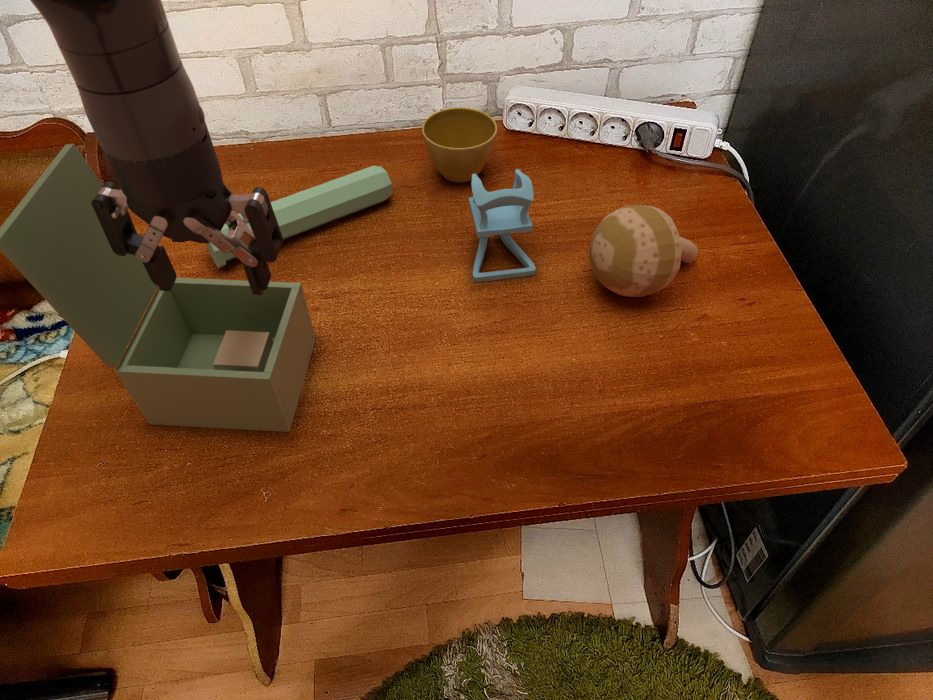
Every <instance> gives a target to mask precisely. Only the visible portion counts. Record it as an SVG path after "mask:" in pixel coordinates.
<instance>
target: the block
mask: <svg viewBox="0 0 933 700" xmlns="http://www.w3.org/2000/svg"><path fill="white" fill-rule="evenodd" d="M272 345H273V341H272V338H271V335H270V333H269V332H252V331H229V330H226V332H225V335H224V337H223V340H222V342H221V345H220V347H219V350H218V352H217V355H216V357H215V360H214V362H213V366H214V368H215V370H229V371H249V372H264V369H265V366H266V363H267V360H268V357H269V354H270V351H271V348H272Z"/></svg>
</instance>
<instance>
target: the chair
mask: <svg viewBox="0 0 933 700" xmlns="http://www.w3.org/2000/svg"><path fill="white" fill-rule="evenodd" d="M514 177H515V178H514V180H513V184H512V188H502V189H497V190H493V191H487V189H486V188H485V187H484V185H483V182H482V180H481V178H480V177H479V176H478V175H476V174H472V180H471V182H470V183H471V193H472V196H470V197H468V205H469V210H470V214H471V218H472V221H473V225H474V228H475V233H476V237H477V238H479V242H478V247H477V252H476V256H475V259H474V263H473V268H472V281H473V282H474V283H484V282H492V281H498V280H507V279H517V278H524V277H525V278H526V277H532V276H535V275H536V270H537V267H536V265H535V264H534V262H533V261H532V259H531V258H530V257H529V256H528V255H527V254H526V252H524V251H523V249H522V248H521V247H520V245H518V243H516V241H515V240H514V239H513V238H512V236H511V235H510V234H523V233H531V232H533V230H534V229H533V228H534V227H533V226H534V225H533V222H532V219H531V217H530V214H529V209H530V207H531V205H532V203H533V201H534V197H535V196H534V186H533V183H532V180H531V179H530V177H529V176H528V175H527V174H525V173H523V172H522V171H521V170H520V169H519V168H516V169H515V171H514ZM520 186H521V187H520ZM498 235H499V239H500V240H501V242H502V243H503V244H504V246H505V247H506V248H507V249H508V250H509V252H511V253H512V254H513V255H514V257H516V259H517V260H518V261H519V262H520V263H521V264H522V265H523V266H524V267H522V268H512V269H503V270H495V271H494V270H493V271H487V272H486V271H485V272H481V269H482V265H483V262H484V258H485V256H486V252H487V247H488V241H489V237H492V236H493V237H494V236H498Z"/></svg>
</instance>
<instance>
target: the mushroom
mask: <svg viewBox="0 0 933 700" xmlns="http://www.w3.org/2000/svg"><path fill="white" fill-rule="evenodd" d="M698 254H699V249H698V247H697V245H696V244H695V243H694V242H692V241H691V240H689V239H686V238H684V237H682V236H680V233H679V231H678V228H677V226H676V224H675V222H674V220H673V218H672V217H671V216H670V215H669V214H667V213H666V212H665V211H663V209H660V208H658V207H655V206H652V205H645V204H632V205H625V206H622V207H620V208H617V209H616V210H614V211H611V212H610V213H609V214H606V216H605V217H604V218H602V220H601V221H600V222H599V224H598V225H597V226H596V228H595V229H594V231H593V234H592V236H591V238H590V241H589V250H588V257H589V258H588V259H589V263H590V266H591V270H592V271H593V273H594V275H595V277H596V279H597V280H598V282H600V283H601V285H602V286H604V287H605V288H606V289H608V290H609V291H611V292H613V293H615V294H616V295H619V296H621V297H631V298H642V297H646V296H650V295H652V294H654V293H658V292H659V291H661V290H663V289H665V288H666V287H668V286H669V285H670V284H671V282H673V280H674V279H675V277H676V276H677V274H678V272H679V271H680V269H681V263H686V264H689V263H692V262H693V261H695V260H696V258H697V257H698Z"/></svg>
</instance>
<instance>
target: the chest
mask: <svg viewBox="0 0 933 700" xmlns="http://www.w3.org/2000/svg"><path fill="white" fill-rule="evenodd" d="M226 330H229V331H252V332H269V333H270V335H271V338H272V341H273V345H272V348H271V351H270V354H269V357H268V360H267V363H266V366H265V369H264V372H249V371H229V370H215V368H214V366H213V362H214V360H215V357H216V355H217V352H218V350H219V347H220V345H221V342H222V340H223V337H224V335H225V332H226ZM316 340H317V337H316V333H315V330H314V326H313V323H312V319H311V315H310V311H309V308H308V305H307V301H306V296H305V292H304V289H303V286H302V283H301V282H288V281H270V282H269V284H268V287H267V290H264V292H263V295H253V293H252V290H251V288H250V285H249V282H248V280H242V279H241V280H240V279H221V278H219V279H218V278H217V279H216V278H199V277H198V278H195V277H194V278H193V277H176V281H175V283H174V285H173V287H172V289H171V290H170V291H161V290H160V288H159V286H158V287H157V289H156V291H155V293H154V295H153V297H152V299H151V301H150V303H149V305H148V307H147V309H146V311H145V313H144V315H143V317H142V318H141V320H140V322H139V324H138V326H137V328H136V330H135V332H134V334H133V336H132V338H131V340H130V342H129V344H128V346H127V348H126V350H125V351H124V353H123V355H122V357H121V359H120V361H119V363H118V365H117V367H116V368H115V370H114V372H115V374H116V376H117V377H118V379H119V380H120V382H121V383H122V384H123V386H124V388H125V390H126V391H127V393H128V394H129V395H130V397H131V399H132V400H133V401H134V403H135V405H136V406H137V407H138V409H139V411H140V412H141V414H142V416H143V417H144V418H145V420H146V421H147V423H148V424H149V425H151V426H152V425H153V426H171V427H187V428H188V427H190V428H204V429H205V428H206V429H207V428H209V429H227V430H244V431H261V432H280V433H290V432H291V429H292V425H293V421H294V418H295V414H296V411H297V408H298V403H299V400H300V397H301V393H302V390H303V386H304V384H305V383H304V382H305V379H306V375H307V372H308V368H309V365H310V362H311V358H312V355H313V352H314V351H313V350H314V348H315V344H316V342H317V341H316Z"/></svg>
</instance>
